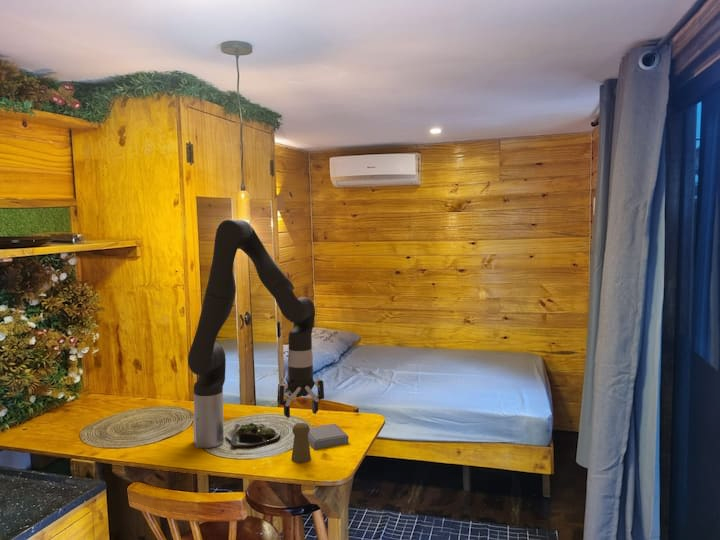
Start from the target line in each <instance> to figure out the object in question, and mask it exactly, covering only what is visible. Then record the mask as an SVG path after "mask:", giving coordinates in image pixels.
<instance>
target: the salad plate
mask: <svg viewBox="0 0 720 540" xmlns="http://www.w3.org/2000/svg"><path fill="white" fill-rule="evenodd" d="M257 430H260V431H257ZM225 437H226V439H227V440H228V441H229V442H230V444H231V445H232V446H235V447H237V448H240V447H241V449H253V448H252V447H255V448H259V447H258V446H260V447H263V446H262V445H264V446H266V445H265V444H268V445H270V444H269V443H271V444H273V443H276V442H277V441H278V440H279V439H280V438H281V432H280V431H279V430H277V429H275V428H273V427H272V426H271V425H269V424H265V423H256V424H255V423H254V422H250V423H246V424H245V423H244V422H243V423H242V424H240V423H236V424H234V427H233V429H230V430H229V431H227V432H226V433H225ZM267 440H269V441H267ZM275 441H276V442H275Z"/></svg>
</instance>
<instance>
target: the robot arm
mask: <svg viewBox="0 0 720 540" xmlns="http://www.w3.org/2000/svg"><path fill="white" fill-rule="evenodd" d="M214 237H215V238H214V243H213V244H214V246H213V254H212V255H213V256H212V262H211V265H210V266H211V267H210V270H209V271H210V272H209V276H208V282H207V284H206V288H205V293H204V296H203V302H202V306H201V310H200V315H199V319H198V324H197V328H196V332H195V334H194V337H193V339H192V343H191V346H190V349H189V351H188V355H187V364H188V368H189V370H190V371H191V372H192V374H194V375H197V376H198V375H199V377H198V379H197V380H196V382H195V383H194V385H193V411H194V412H193V414H192V415H193V418H192V419H193V421H192V422H193V443H194V446H195V449H198V448H199V449H200V448H202V449H206V448H208V449H209V448H215V447H219V446H220V445H222V444H224V440H225V439H224V438H225V437H224V436H225V434H224V394H223V393H224V390H223V389H224V384H225V382H226V361H227V360H226V352H225V350H224V347H223V346H222V345H221V343H218V342H216V340H217V337H218V335H219V333H220V331H221V330H222V327H223V326H224V324H225V323H226V321H227V320H228V318H229V317H230V314H231V312H232V310H233V306H234V303H235V298H236V293H237V289H236V288H237V287H236V285H237V284H236V280H235V275H234V263H235V258H236V254H237V252H238V250H241V251H243V252H244V253H245V255H246V256H248V258H249V259H250V260H251V261H252V264H253V265H254V268H255V270H256V273H257V275H258V278H259V280H260V282H261V283H262V285H263V286H264V287H265V289H266V290H267V291H268V292H269V293H270V295H271V296H272V297H273V298H274V300H275V302H276V304H277V306H278V308H279V311H280V312H281V314H282V315H283V316H284V318H285V319H286V320H287V321H288V322H289V323H290V322H291V323H292V324H293V327H292V329H291V330H290V331H289V333H288V354H287V371H288V372H287V374H288V375H287V378H288V379H287V380H288V382H287V384H285V383H283V384H282V383H278V384H277V399H276V400H277V403H278V404H279V405H280V406H283V415H284V416H285V417H286V418H287V419H289V418H291V410H290V409H291V406H290V405H291V403H292V402H293V401H294V400H295V398H300V397H307V396H308V395H309V397H311V399H312V401H311V413H312V414H314V415H316V414H317V412H319V401H320V400H324V399H325V390H324V380H322V379H321V378H317V379H315V380H314V361H313V359H314V358H313V357H314V355H313V347H312V345H313V344H312V343H313V342H312V341H313V338H312V333H313V329H314V324H315V317H316V308H315V305H314V302H313V300H311V298H309V297H305V296H303V297H297V296H296V295H295V293H294V289H295V287H294V283H292V281H291V280H290V278H288V276H287V275H286V274H285V273H284V272H283V270H282V269H281V268H280V267H279V265H277V263H276V262H275V260H274V259H273V258H272V256H271V255H270V253H269V252H268V251H267V249H266V247H265V245H264V244H263V242H262V241H261V239H260V237H259V236H258V234H257V232H256V231H255V229H254V228H253V226H252V225H251V223H249V222H248V221H246V220H244V219H225V220H223V221H221V222H220V224H219V225H218V227H217V229H216V231H215V236H214ZM314 386H315V387H317V395H316V394H315V393H314V391H313V388H314ZM287 389H288V390H289V391H288V392H287V394H286V396H285V395H284V394H285V393H286V390H287ZM284 396H285V398H284Z"/></svg>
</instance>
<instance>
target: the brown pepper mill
mask: <svg viewBox="0 0 720 540" xmlns="http://www.w3.org/2000/svg"><path fill="white" fill-rule="evenodd" d="M292 427H293V428H292V434H293V435H294V437H293V444H292V450H291V451H292V453H291V461H292V462H293V463H295V464H305V463H308V462H310V461H311V460H312V455H311V448H310V447H311V446H310V444H309V440H308V434H309V431H310V428H311V427H310V426H309V424H308V423H305V422H298V423H296V424H293V426H292Z"/></svg>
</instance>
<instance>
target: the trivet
mask: <svg viewBox="0 0 720 540" xmlns="http://www.w3.org/2000/svg"><path fill="white" fill-rule="evenodd" d="M309 428H310V431H309V434H308V440H309V446H310V447H312V448H313V450H318V449H325V448H329V447H335V446H340V445H341V446H342V445H346V444H349V435H348V434H347V433H346V432H345V431H344V430H343V429H342V428H340V427H339V426H338V425H337V424H336V423H331V424H325V425H319V426H312V427H309Z"/></svg>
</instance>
